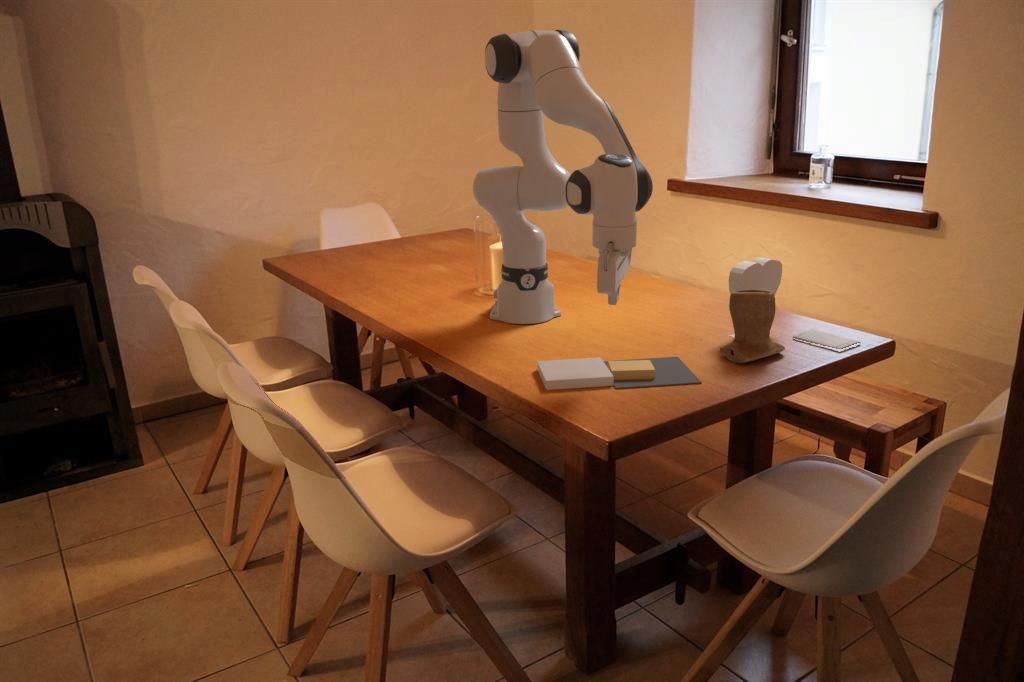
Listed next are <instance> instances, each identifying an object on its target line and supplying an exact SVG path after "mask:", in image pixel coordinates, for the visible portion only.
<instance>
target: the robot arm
mask: <svg viewBox="0 0 1024 682" xmlns="http://www.w3.org/2000/svg"><path fill="white" fill-rule="evenodd" d="M580 58H581V57H580V45H579V42H578V40H577V38H576V37H575V35H574V34H573V33H572V32H569V31H567V30H562V29H555V30H549V29H548V30H547V29H546V30H545V29H531V30H529V31H520V32H514V33H508V34H507V33H501V34H498V35H494V36H493V37H491V38H489V41H488V42H487V44H486V45H485V49H484V64H485V69H486V73H487V75H488V76H489V77H490V78H491V80H493V82H495V83H496V82H497V83H498V85H497V122H498V126H497V127H498V139H499V142H500V143H501V145H502V146H503V147H504V148H505V149H506V150H508V151H509V152H511V153H513V154H515V155H517V156H518V158H519V159H520V160H521V162H522V164H523V165H497V166H496V165H495V166H490V167H486V168H481V169H480V170H479V171H478V173H477V174H476V176H475V177H474V180H473V184H472V191H473V197H474V198H475V200H476V202H477V203H478V205H479V206H480V207H482V209H484V210H485V211H486V212H487V213H488V214H489V215H490V216H491V217H492V219H493V220H494V222H495V223H496V226H497V228H498V230H499V233H500V238H501V245H502V247H501V248H502V264H501V270H500V274H501V279H502V280H501V281H500V284H499V285H498V287H497V288H496V289H493V298H494V299H496V300H495V301H494V302H493V304H492V308H491V309H490V310H491V311H490V313H489V319H490V320H495V321H501V322H504V323H509V324H513V325H514V324H516V325H528V324H529V325H533V324H541V323H544V322H548V321H550V320H551V319H553V318H557V317H560V316H562V311H561V310H560V309H558V308H557V307H556V306H555V288H554V287H555V286H554V284H552V282H551V281H549V279H548V277H549V268H548V267H549V265H548V263H547V239H546V238H547V237H546V234H545V233H544V231H543V230H542V229H541V228H540V227H539V226H537V225H535V224H534V223H531V222H530V221H528V220H527V218H526V216H525V214H524V211H527V212H529V211H531V212H533V211H534V212H535V211H536V212H550V211H558V210H561V209H566V208H567V207H568V206H569V207H570V209H572V210H573V212H575V213H576V214H578V215H586V216H587V215H592V216H593V217H592V218H593V219H592V242H591V243H592V246H593V248H596V249H598V255H599V256H598V259H597V271H596V272H597V273H596V290H597V293H598V294H604V295H607V304H608V305H610V306H616V305H617V303H618V302H619V300H620V289H621V283H622V282H623V280H624V278H625V276H626V275H627V274H628V271H629V270H630V266H631V260H632V259H631V258H632V250H633V248H636V247H637V236H638V235H637V233H638V220H637V216H636V213H637V212H639V211H641V210H642V209H643V208H644V207H645V206H647V205H646V204H648V202H649V201H650V199H651V197H652V194H653V191H654V190H653V188H654V186H653V180H652V177H651V174H650V173H649V172H648V170H647V169H646V167H645V165H644V164H643V163H642V161H640V159H639V158H638V156H637V154H636V153H635V150H634V148H633V146H632V145H631V143H630V141H629V138H628V137H627V135H626V133H625V131H624V129H623V127H622V125H621V123H620V121H619V119H618V118H617V115H616V114H615V112H614V110H613V109H612V107H611V106H610V104H609V103H608V102H607V101H606V100H604V99H603V98H602V97H600V96H599V95H598V94H597V93H596V92H595V91H594V90H593V88H592V87H591V86H590V85H589V83H588V81H587V80H586V79H587V78H586V77H585V75H584V72H583V69H582V66H581V64H580ZM545 116H546V117H547V118H548V119H549V120H551V121H552V122H554V123H556V124H559V125H563V126H567V127H571V128H574V129H578V130H581V131H583V132H586V133H588V134H590V135H591V136H594V138H595V139H596V140H598V142H599V143H600V146H601V147H602V149H603V151H604V153H603V154H601V155H599V156H597V157H596V158H595V159H594V162H593V163H592V164H590V165H588V166H584V167H582V168H579V169H575V170H574V171H573V172H572V173H570V172H569V171H568V170H567V169H566V168H564V166H562V165H561V163H559V162H558V161H557V160H556V158H555V157H554V155H553V154H552V153H551V151H550V148H549V145H548V143H547V139H546V132H545V120H544V117H545Z"/></svg>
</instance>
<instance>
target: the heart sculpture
mask: <svg viewBox="0 0 1024 682" xmlns="http://www.w3.org/2000/svg"><path fill="white" fill-rule="evenodd" d="M782 275H783V263H782V262H781V261H780V260H778V259H777V260H776V259H773V258H767V257H761V256H760V257H756V258H754V259H753V260H752V261H751V260H742V261H740V262H738V263H737V264H735V265H733V266H732V268H731V270H730V271H729V275H728V290H729V291H728V292H729V293H730V295H731V293H732V292H733V291H736V290H744V289H760V290H770V291H772V292H773V293H774V295H775V296H776V295H777V292H778V289H779V287H780V285H781V280H782ZM729 336H732V337H735V333H732V335H731V334H729ZM729 336H728V337H729Z"/></svg>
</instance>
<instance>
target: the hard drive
mask: <svg viewBox="0 0 1024 682" xmlns="http://www.w3.org/2000/svg"><path fill="white" fill-rule="evenodd" d="M793 338H795V339H798V340H802V341H806V342H810V343H815V344H820V345H823V346H828V347H832V348H836V349H843V348H846V347H849V346H851V345H854V344H857V343H860V344H861V341H858V340H855V339H852V338H848V337H844V336H841V335H837V334H832V333H828V332H825V331H821V330H817V329H814V328H812V329H809V330H805V331H802V332H800V333H797V334H794V335H792V339H793Z"/></svg>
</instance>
